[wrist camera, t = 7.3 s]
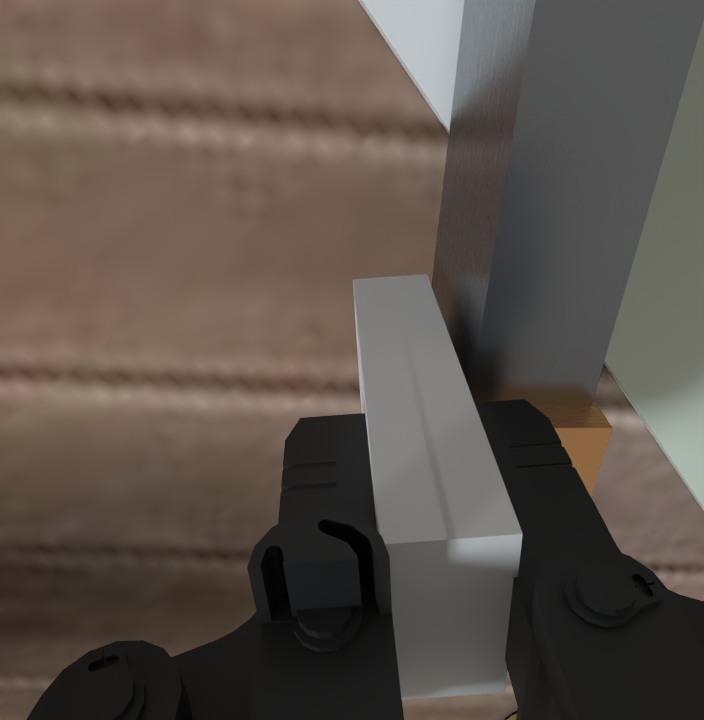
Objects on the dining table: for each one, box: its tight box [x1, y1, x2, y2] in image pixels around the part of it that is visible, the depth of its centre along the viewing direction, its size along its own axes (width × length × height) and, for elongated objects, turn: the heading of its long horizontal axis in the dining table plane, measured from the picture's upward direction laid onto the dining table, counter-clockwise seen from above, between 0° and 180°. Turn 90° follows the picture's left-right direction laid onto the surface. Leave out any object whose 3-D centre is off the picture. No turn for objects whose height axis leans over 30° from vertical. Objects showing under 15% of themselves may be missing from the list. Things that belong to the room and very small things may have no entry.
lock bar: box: [432, 0, 704, 496], centre depth 9 cm, size 17×3×5 cm, turn 178°
